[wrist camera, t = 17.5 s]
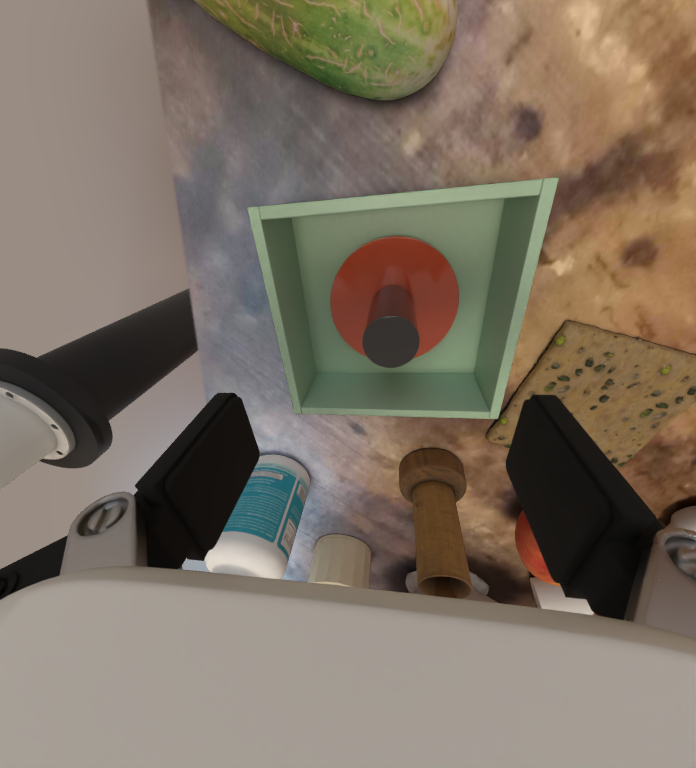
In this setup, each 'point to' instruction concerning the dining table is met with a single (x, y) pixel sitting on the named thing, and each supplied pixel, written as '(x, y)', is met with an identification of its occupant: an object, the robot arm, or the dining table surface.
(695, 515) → the pale two-lobed sculpture
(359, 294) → the lid
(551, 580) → the apple
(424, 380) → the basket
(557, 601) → the mug
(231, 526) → the pill bottle
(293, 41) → the vegetable
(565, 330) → the speckled square tile
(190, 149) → the dining table surface
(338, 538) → the pot
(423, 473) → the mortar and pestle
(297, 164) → the dining table surface
